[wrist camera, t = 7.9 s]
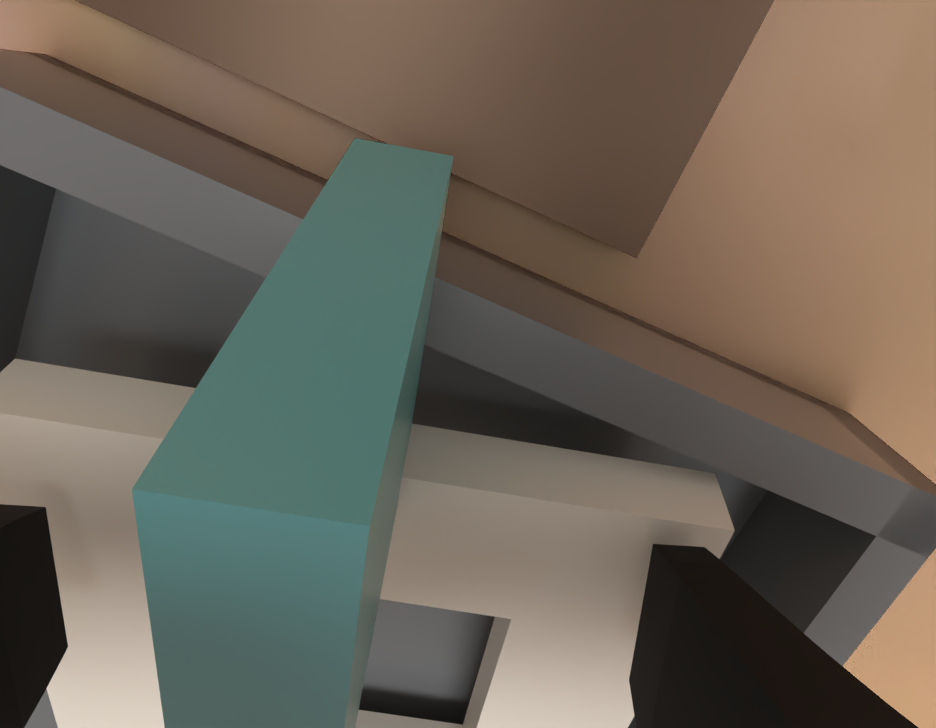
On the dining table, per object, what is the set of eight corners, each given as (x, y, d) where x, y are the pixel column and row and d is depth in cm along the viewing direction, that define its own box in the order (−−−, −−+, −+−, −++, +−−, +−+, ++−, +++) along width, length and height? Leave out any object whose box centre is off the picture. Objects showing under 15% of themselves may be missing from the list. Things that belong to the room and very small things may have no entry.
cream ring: (555, 800, 14) (571, 1173, 10) (102, 737, 14) (-73, 1099, 10) (835, 226, 7) (1250, 663, 3) (-53, 63, 7) (-902, 328, 3)
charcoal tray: (850, 414, 12) (965, 508, 9) (444, 1002, 17) (437, 1177, 14) (45, 54, 10) (-121, 34, 7) (-127, 832, 16) (-261, 993, 13)
